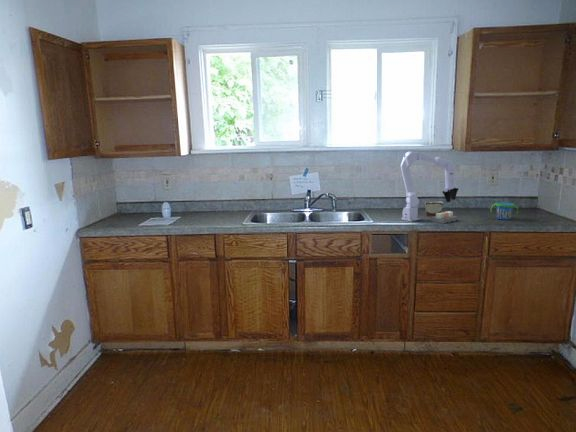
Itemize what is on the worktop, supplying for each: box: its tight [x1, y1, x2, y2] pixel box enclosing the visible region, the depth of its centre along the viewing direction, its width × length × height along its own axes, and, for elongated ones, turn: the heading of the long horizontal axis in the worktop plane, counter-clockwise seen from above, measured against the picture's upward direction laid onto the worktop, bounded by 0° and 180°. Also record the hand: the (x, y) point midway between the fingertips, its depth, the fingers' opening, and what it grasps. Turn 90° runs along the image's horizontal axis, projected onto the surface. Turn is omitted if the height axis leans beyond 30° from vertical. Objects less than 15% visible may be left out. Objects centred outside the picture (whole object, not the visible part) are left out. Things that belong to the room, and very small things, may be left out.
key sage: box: [436, 213, 444, 219], centre depth 244 cm, size 3×3×4 cm
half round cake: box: [424, 200, 444, 218], centre depth 263 cm, size 12×6×10 cm, turn 84°
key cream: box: [446, 210, 454, 217], centre depth 249 cm, size 3×3×4 cm
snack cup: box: [490, 202, 519, 221], centre depth 249 cm, size 16×10×10 cm
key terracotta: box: [441, 211, 449, 218], centre depth 247 cm, size 3×3×4 cm
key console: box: [430, 215, 459, 224], centre depth 247 cm, size 15×9×2 cm, turn 123°
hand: (450, 200), depth 249 cm, fingers open, 7 cm apart
